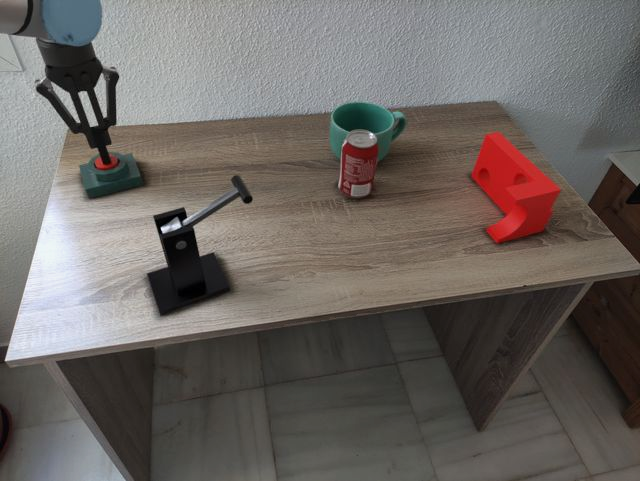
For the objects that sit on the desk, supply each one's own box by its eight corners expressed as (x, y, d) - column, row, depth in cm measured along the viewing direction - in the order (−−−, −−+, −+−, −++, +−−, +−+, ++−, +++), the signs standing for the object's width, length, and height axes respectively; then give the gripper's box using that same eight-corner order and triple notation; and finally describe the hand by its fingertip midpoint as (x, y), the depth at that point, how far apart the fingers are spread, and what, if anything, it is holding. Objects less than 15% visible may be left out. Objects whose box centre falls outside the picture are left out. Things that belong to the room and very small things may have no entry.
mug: (339, 178, 94) (343, 139, 88) (320, 143, 103) (323, 104, 96) (413, 166, 98) (423, 127, 92) (390, 133, 107) (397, 95, 100)
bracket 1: (214, 256, 79) (203, 194, 69) (230, 291, 74) (221, 229, 64) (148, 278, 75) (126, 215, 65) (160, 315, 70) (138, 254, 60)
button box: (88, 198, 87) (81, 181, 84) (82, 174, 92) (75, 157, 89) (143, 184, 91) (138, 168, 88) (134, 161, 95) (129, 145, 92)
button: (99, 177, 87) (96, 169, 86) (96, 165, 90) (93, 157, 89) (121, 171, 89) (119, 164, 88) (117, 160, 91) (115, 152, 90)
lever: (243, 181, 69) (236, 171, 67) (256, 202, 66) (248, 191, 64) (167, 229, 68) (157, 220, 66) (176, 253, 65) (166, 244, 63)
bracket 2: (566, 188, 79) (516, 200, 76) (542, 231, 87) (496, 243, 84) (502, 130, 91) (457, 139, 88) (486, 173, 98) (444, 182, 95)
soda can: (373, 201, 90) (381, 150, 81) (338, 200, 90) (343, 148, 81) (371, 179, 95) (379, 128, 86) (337, 177, 95) (342, 126, 86)
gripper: (15, 50, 66) (71, 180, 83) (110, 36, 71) (146, 162, 88) (12, 29, 71) (66, 157, 88) (102, 17, 75) (137, 141, 92)
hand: (106, 159), depth 88 cm, fingers closed
